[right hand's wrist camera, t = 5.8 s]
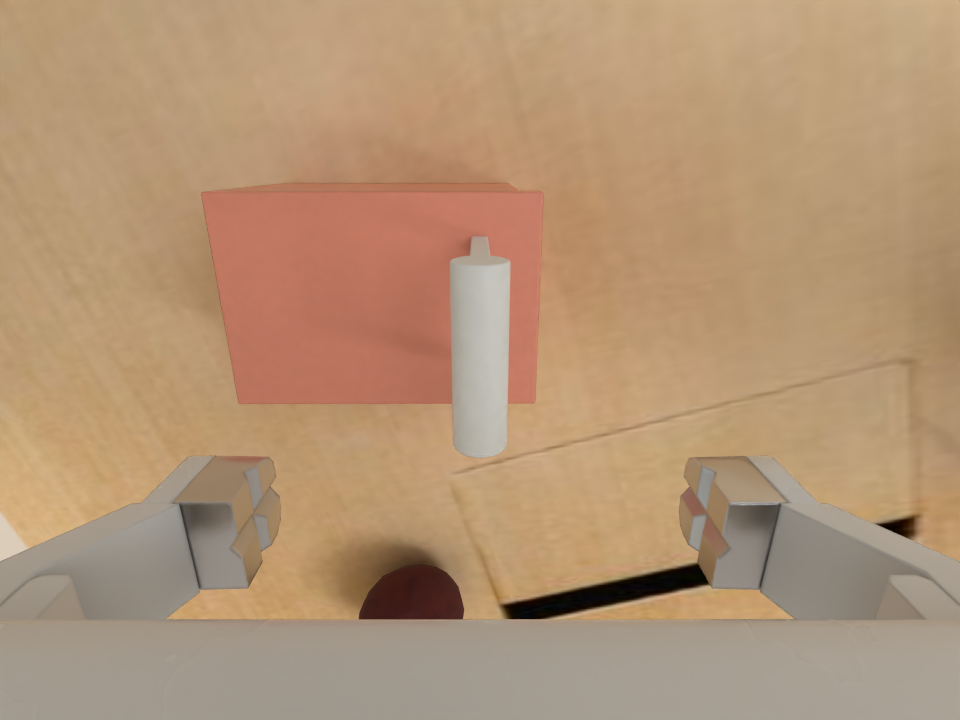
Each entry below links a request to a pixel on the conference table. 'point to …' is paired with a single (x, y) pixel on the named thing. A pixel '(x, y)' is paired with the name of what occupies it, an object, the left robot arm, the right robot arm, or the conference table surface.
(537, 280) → the pink board with handle
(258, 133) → the conference table surface
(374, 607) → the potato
